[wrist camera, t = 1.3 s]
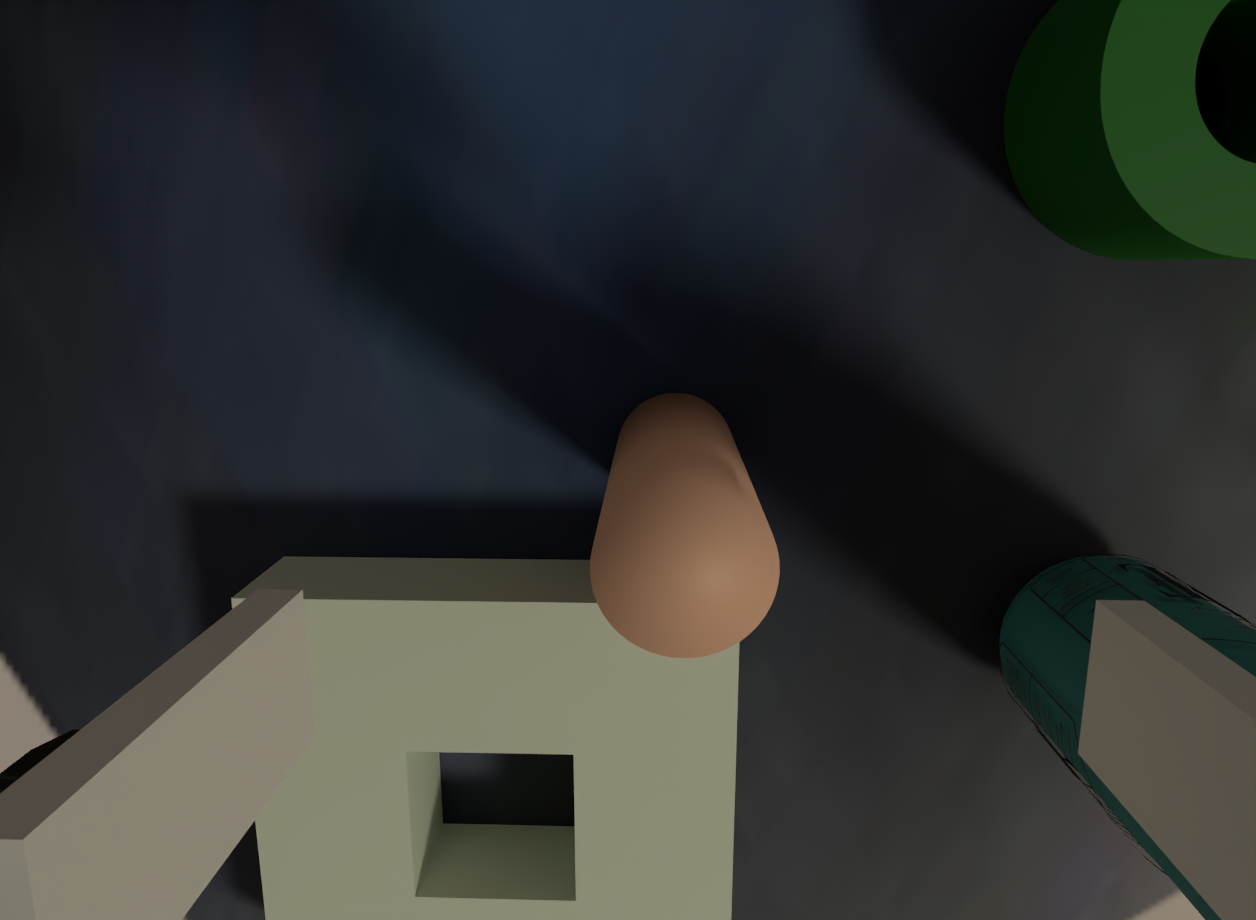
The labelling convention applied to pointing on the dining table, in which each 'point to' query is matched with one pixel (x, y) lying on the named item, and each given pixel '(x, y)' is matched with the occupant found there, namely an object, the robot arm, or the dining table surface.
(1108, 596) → the beverage bottle
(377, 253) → the dining table surface
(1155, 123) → the slotted cylinder bracket
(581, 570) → the socket board
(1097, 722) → the robot arm
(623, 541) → the peg
